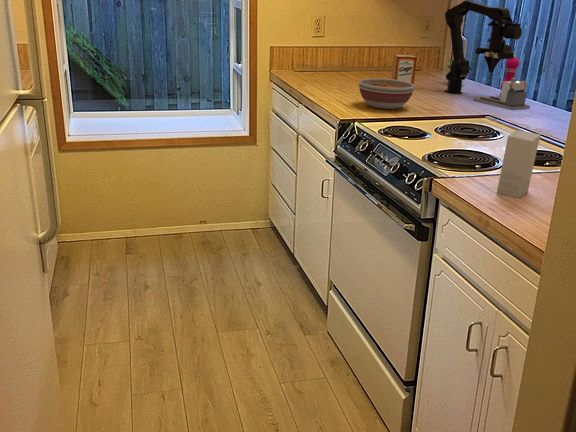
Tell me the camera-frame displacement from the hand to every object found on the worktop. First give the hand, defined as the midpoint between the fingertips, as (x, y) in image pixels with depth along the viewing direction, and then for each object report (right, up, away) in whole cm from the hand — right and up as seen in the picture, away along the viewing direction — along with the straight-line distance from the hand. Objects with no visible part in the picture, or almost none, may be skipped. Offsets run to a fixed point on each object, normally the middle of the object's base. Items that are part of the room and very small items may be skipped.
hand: (491, 72), depth 284 cm
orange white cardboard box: (-37, -3, +22) cm, 43 cm away
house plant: (-6, +2, +40) cm, 40 cm away
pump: (+5, -15, -8) cm, 18 cm away
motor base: (+4, -16, -5) cm, 17 cm away
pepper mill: (+12, -9, +14) cm, 21 cm away
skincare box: (-34, -60, -122) cm, 140 cm away
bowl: (-53, -20, -24) cm, 61 cm away
